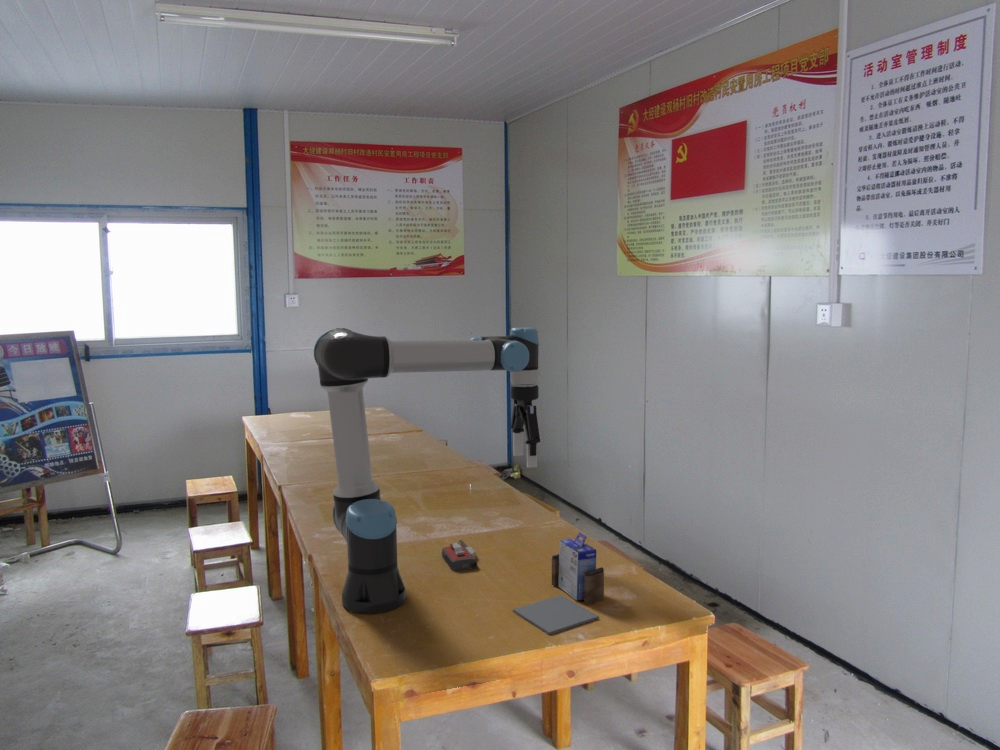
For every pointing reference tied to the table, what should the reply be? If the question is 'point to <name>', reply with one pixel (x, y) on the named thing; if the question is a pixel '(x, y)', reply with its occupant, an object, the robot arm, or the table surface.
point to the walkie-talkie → (459, 556)
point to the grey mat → (555, 614)
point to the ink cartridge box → (575, 565)
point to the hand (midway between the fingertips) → (524, 461)
